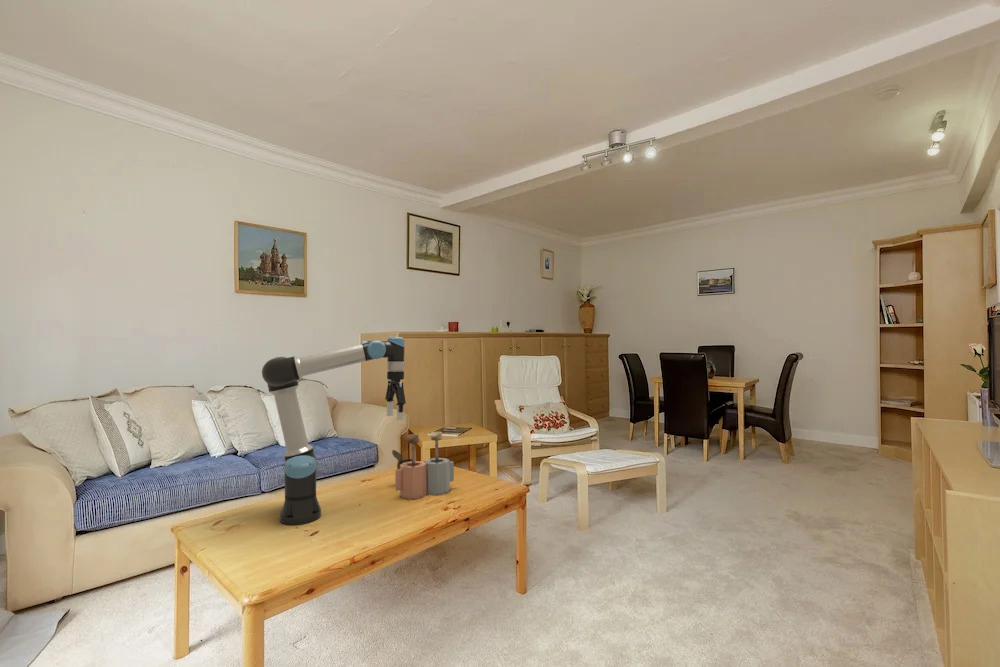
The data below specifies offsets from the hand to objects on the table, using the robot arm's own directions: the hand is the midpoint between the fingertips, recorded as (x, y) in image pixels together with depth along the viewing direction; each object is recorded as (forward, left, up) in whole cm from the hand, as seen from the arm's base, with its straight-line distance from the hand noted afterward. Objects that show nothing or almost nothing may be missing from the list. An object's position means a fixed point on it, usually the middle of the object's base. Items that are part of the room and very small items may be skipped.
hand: (394, 417), depth 216 cm
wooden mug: (+9, +16, -36) cm, 40 cm away
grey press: (+20, -3, -35) cm, 41 cm away
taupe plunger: (+7, -3, -24) cm, 26 cm away
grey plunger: (+19, -3, -24) cm, 31 cm away
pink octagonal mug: (+6, -3, -35) cm, 36 cm away
